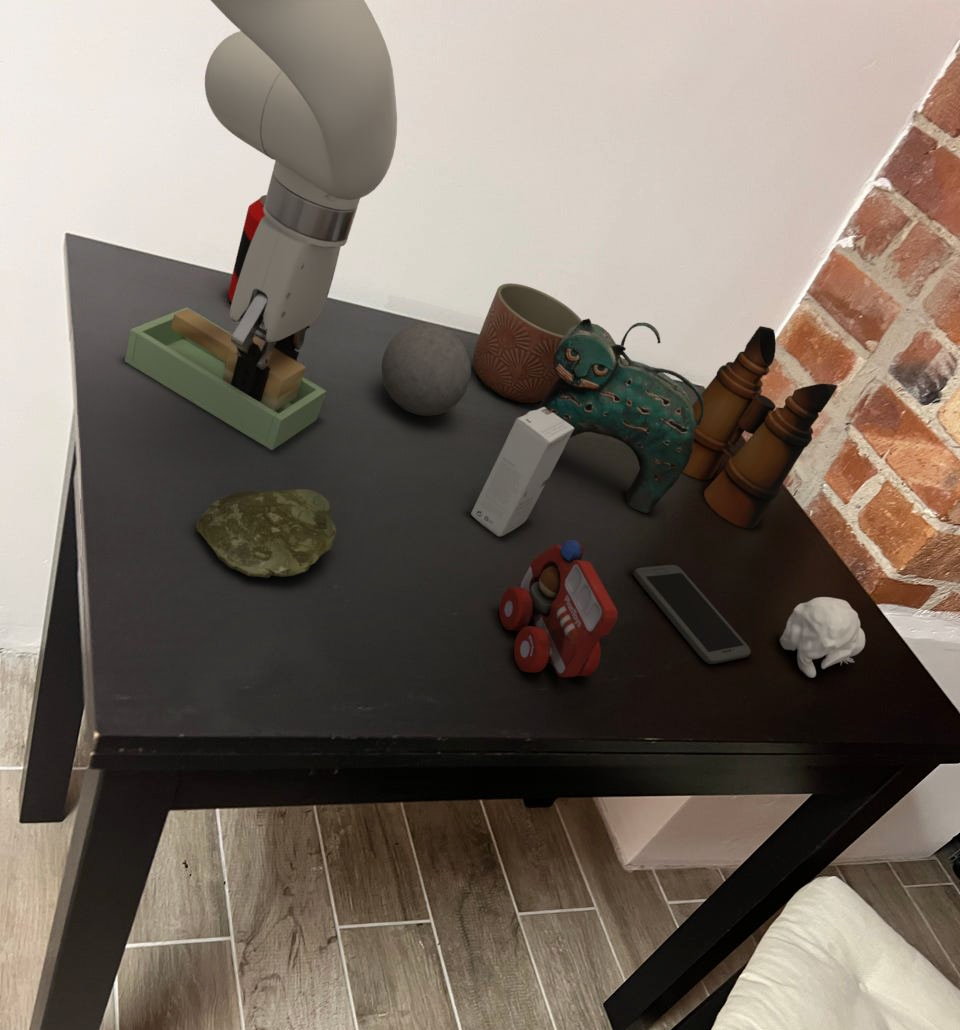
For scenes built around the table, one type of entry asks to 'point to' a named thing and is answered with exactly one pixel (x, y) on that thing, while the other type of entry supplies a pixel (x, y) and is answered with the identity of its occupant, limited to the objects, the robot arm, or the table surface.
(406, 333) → the decorative ball
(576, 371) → the ceramic cat
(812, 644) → the white frog figurine
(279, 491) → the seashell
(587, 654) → the toy fire truck
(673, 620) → the cell phone
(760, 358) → the binoculars
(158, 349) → the bin
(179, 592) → the table surface
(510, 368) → the planter
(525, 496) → the cosmetic box
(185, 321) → the brush
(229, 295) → the soda can
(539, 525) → the table surface
